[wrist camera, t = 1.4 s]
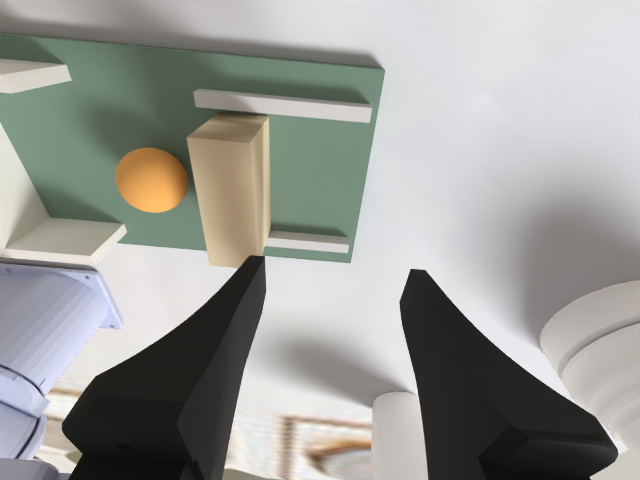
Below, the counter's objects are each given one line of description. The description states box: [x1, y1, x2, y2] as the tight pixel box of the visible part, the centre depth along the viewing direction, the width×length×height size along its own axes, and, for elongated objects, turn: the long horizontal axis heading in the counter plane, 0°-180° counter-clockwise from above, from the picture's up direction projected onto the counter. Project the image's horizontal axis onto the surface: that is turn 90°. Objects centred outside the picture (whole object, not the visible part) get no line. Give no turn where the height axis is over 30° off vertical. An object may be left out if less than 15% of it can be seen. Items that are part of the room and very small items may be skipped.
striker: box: [186, 112, 271, 268], centre depth 19 cm, size 3×8×5 cm, turn 176°
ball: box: [115, 148, 188, 213], centre depth 19 cm, size 4×4×4 cm
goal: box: [0, 59, 127, 265], centre depth 19 cm, size 6×12×4 cm, turn 176°
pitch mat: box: [0, 32, 385, 263], centre depth 20 cm, size 25×14×2 cm, turn 86°
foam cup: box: [371, 391, 428, 480], centre depth 34 cm, size 10×9×13 cm
